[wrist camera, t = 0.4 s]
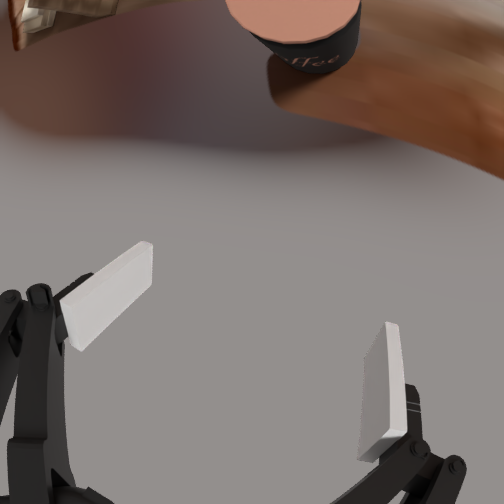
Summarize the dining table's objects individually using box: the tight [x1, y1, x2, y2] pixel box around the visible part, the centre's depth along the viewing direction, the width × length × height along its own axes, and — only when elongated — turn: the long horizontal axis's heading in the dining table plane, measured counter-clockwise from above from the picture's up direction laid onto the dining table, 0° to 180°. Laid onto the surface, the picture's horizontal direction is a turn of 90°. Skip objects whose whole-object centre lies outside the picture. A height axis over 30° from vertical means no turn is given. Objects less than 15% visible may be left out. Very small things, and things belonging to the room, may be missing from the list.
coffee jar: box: [225, 0, 361, 74], centre depth 24 cm, size 11×11×18 cm
